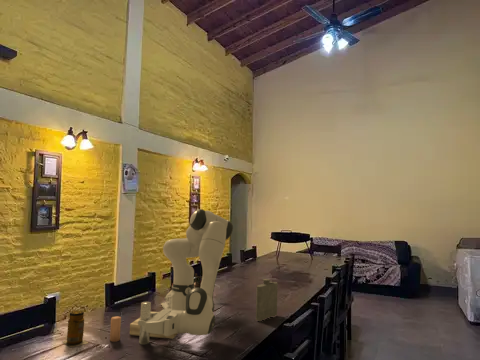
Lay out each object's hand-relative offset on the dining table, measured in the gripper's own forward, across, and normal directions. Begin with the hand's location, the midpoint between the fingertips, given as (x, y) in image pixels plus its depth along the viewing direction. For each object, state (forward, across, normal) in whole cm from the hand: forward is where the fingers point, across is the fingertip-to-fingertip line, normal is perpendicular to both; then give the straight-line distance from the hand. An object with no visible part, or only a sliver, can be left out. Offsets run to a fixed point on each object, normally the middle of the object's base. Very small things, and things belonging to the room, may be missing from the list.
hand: (143, 318), depth 148 cm
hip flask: (-47, -46, +10) cm, 67 cm away
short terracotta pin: (+12, 0, +10) cm, 16 cm away
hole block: (-1, -17, +10) cm, 20 cm away
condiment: (+26, +7, +10) cm, 29 cm away
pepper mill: (-4, -70, +10) cm, 71 cm away
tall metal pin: (-1, 0, +10) cm, 10 cm away
